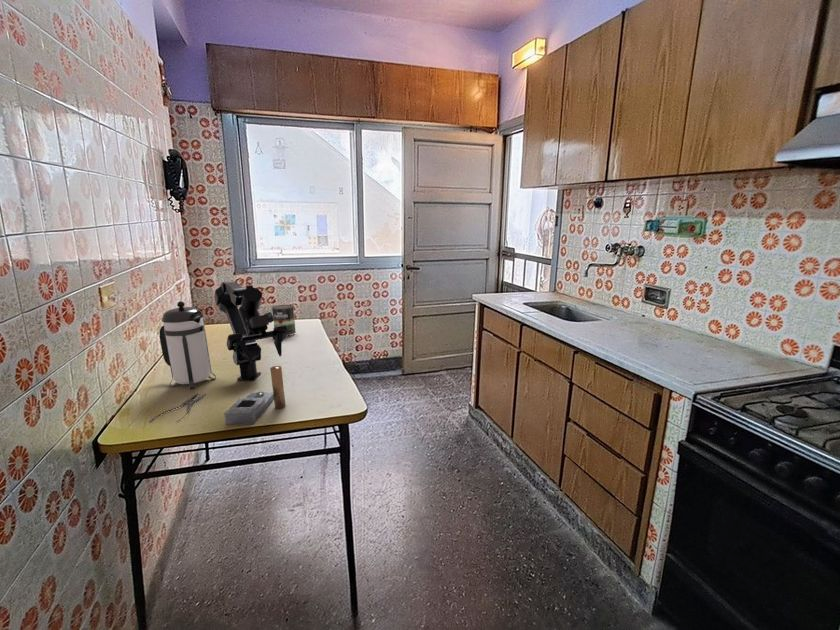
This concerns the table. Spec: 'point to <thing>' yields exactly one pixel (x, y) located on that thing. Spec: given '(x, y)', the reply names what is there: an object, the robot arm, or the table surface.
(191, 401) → the pliers
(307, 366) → the table surface
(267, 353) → the table surface
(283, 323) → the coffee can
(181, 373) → the coffee press
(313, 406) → the table surface
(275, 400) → the pin
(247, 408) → the gray remote-style box
